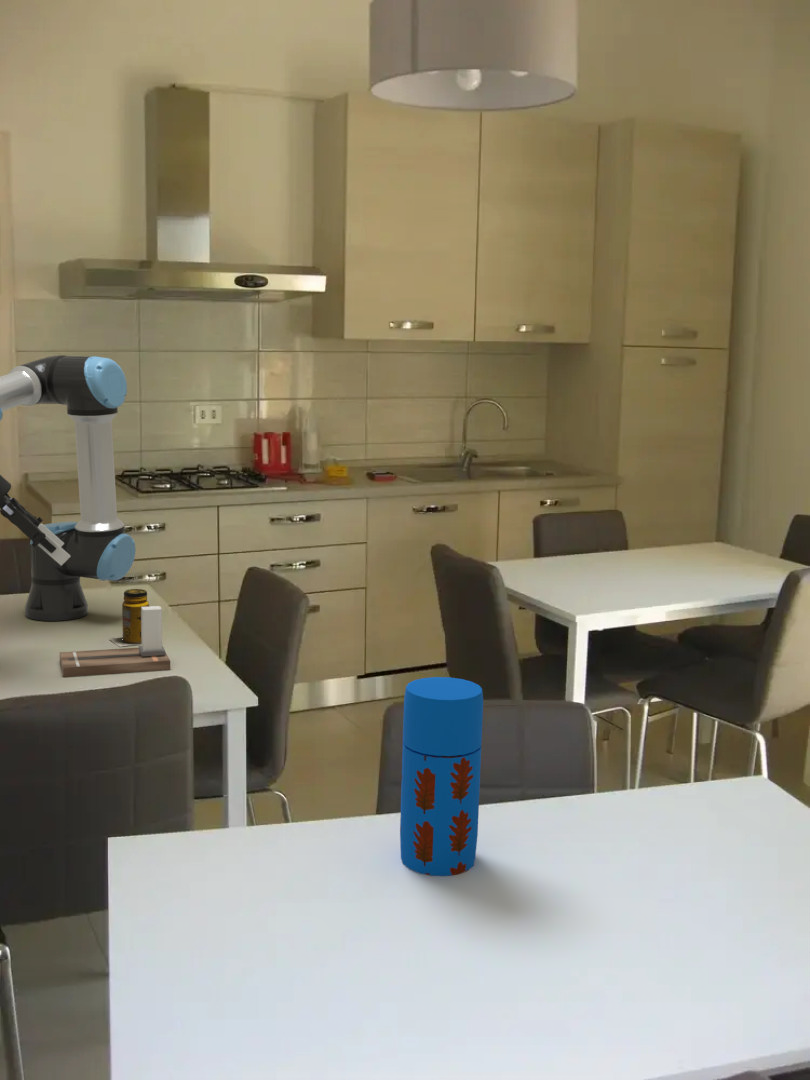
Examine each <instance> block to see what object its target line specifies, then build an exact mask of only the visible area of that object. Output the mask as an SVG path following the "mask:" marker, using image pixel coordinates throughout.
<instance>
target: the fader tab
mask: <svg viewBox="0 0 810 1080" xmlns="http://www.w3.org/2000/svg"><path fill="white" fill-rule="evenodd" d="M141 637H142V644H141V645H138V647H139V652H140V654H141V656H142V657H143V656H159V655H165V652H166V650H165V647H164V646H163V608H162V607H161V605H153V606H152V605H151V606H150V605H149V607H141Z"/></svg>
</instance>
